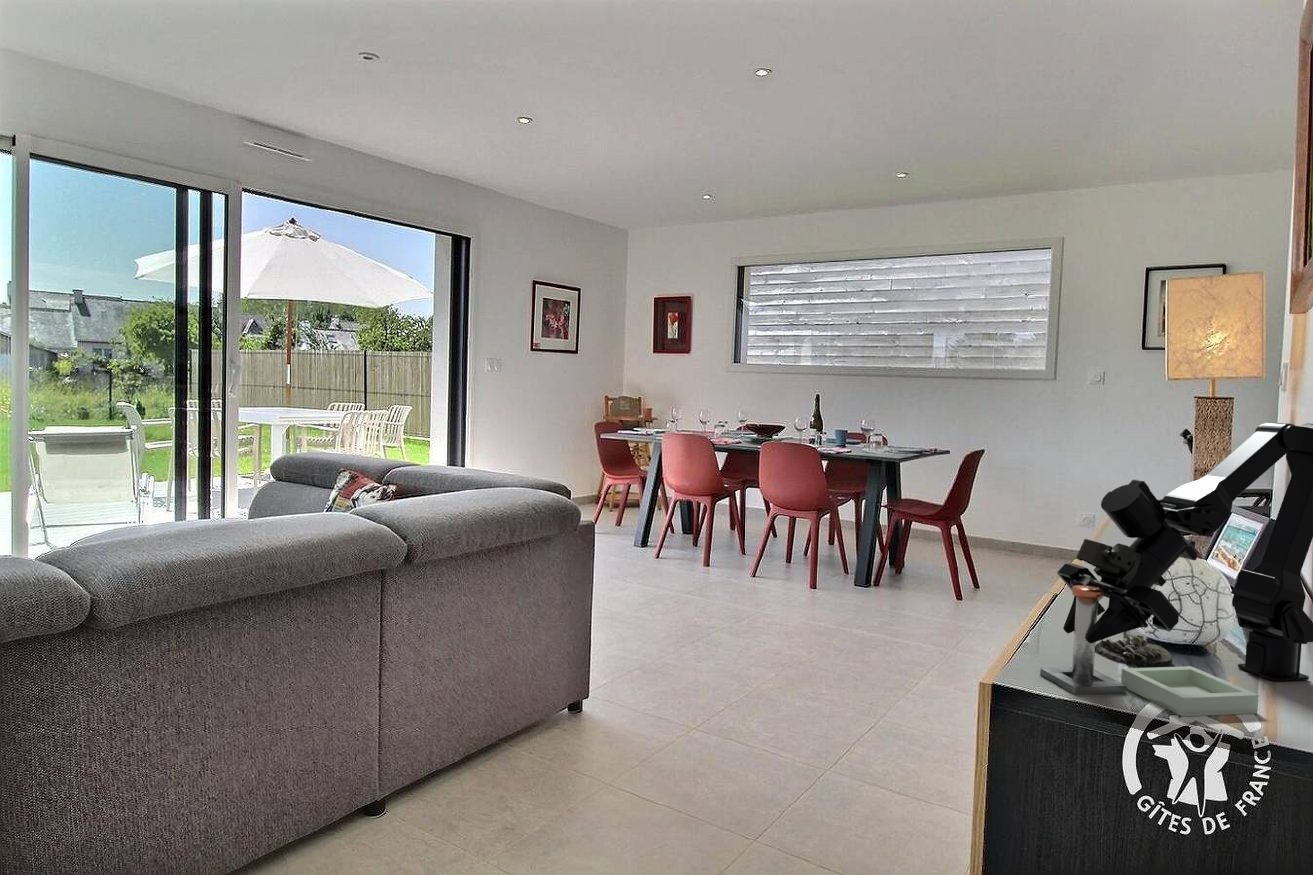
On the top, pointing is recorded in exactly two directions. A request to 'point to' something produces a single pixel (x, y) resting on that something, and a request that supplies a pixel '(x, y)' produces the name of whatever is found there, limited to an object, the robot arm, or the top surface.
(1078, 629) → the pin
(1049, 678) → the collar plate
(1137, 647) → the dark brown textured lump
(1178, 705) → the tray
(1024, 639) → the top surface
